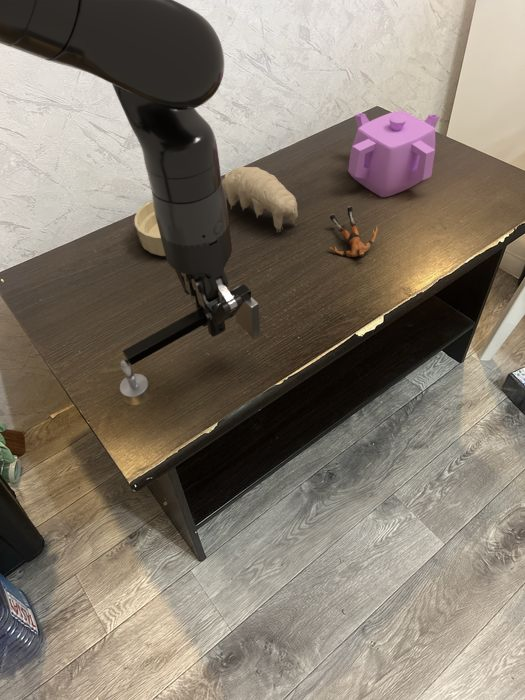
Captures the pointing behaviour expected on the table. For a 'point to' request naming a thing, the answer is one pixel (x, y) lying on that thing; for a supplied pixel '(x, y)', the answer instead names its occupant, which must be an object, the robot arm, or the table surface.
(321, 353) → the table surface
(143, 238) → the bowl
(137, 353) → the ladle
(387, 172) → the teakettle
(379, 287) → the table surface
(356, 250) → the figurine
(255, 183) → the model
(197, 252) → the robot arm
